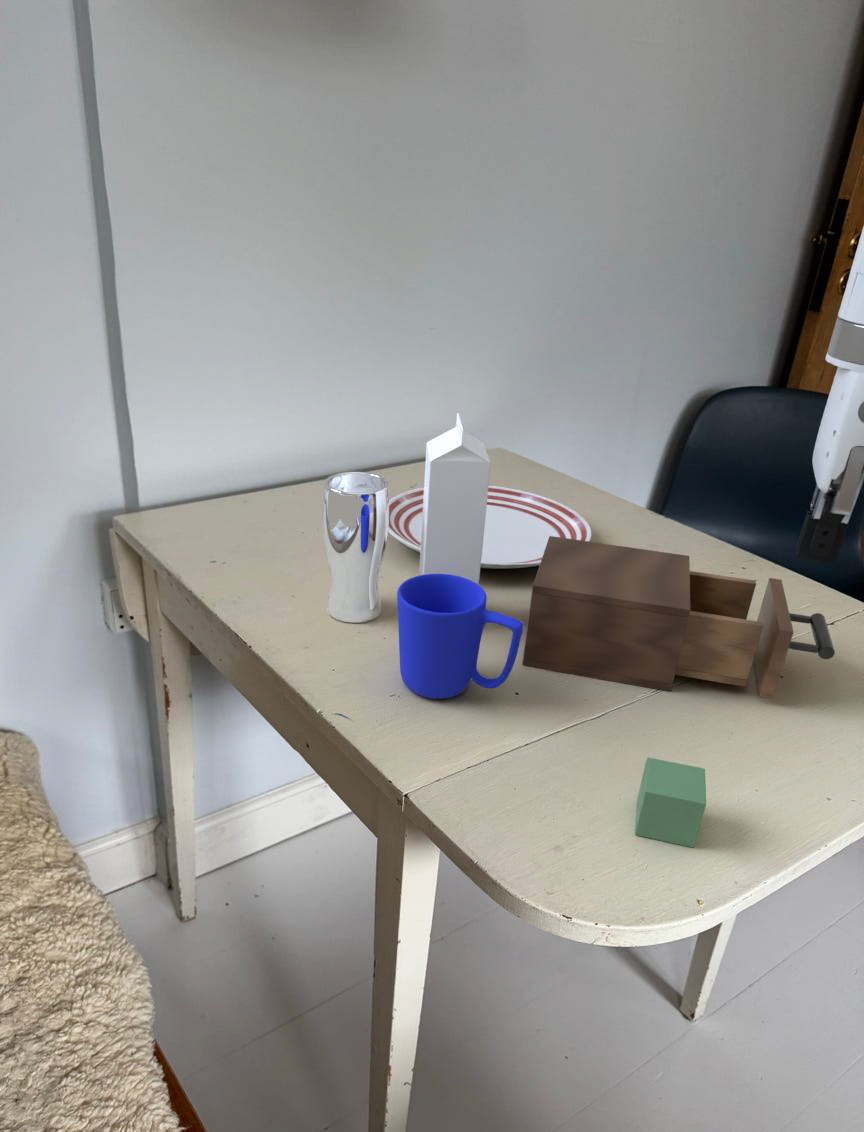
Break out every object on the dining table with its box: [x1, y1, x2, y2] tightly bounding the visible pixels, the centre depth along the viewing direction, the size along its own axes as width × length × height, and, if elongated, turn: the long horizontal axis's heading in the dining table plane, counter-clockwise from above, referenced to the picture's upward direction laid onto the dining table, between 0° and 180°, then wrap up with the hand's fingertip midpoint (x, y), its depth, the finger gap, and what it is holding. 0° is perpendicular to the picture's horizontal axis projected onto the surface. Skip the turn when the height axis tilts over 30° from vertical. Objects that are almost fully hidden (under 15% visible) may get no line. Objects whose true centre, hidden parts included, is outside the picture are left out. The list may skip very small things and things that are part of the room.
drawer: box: [675, 570, 836, 699], centre depth 87 cm, size 18×11×7 cm, turn 73°
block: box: [634, 756, 707, 848], centre depth 67 cm, size 4×4×4 cm
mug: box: [396, 574, 524, 700], centre depth 81 cm, size 8×12×10 cm
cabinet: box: [522, 536, 691, 692], centre depth 89 cm, size 15×13×9 cm
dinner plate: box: [388, 485, 593, 570], centre depth 114 cm, size 27×27×3 cm
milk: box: [418, 412, 492, 586], centre depth 91 cm, size 6×6×22 cm
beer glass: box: [322, 471, 390, 624], centre depth 93 cm, size 7×7×15 cm
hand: (814, 557), depth 78 cm, fingers closed
